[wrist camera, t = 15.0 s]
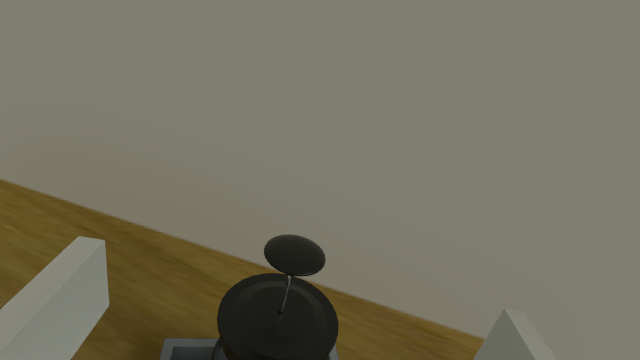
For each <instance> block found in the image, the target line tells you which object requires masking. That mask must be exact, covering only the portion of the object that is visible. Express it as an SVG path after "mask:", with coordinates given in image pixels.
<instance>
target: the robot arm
mask: <svg viewBox="0 0 640 360" xmlns="http://www.w3.org/2000/svg"><path fill="white" fill-rule="evenodd" d="M108 307H109V294H108V279H107V265H106V250H105V240H99V239H94V238H88V237H82V236H78V237H77V238H76V239H75V240H74V241H73V242H72V243H71V244H70V245H69V246H68V247H67V248H65V249H64V250H63V251H62V252H61V253H60V254H59V255H58V256H57V257H56V258H55V259H54V260H53V261H52V262H51V263H49V264H48V265H47V266H46V267H45V268H44V269H43V270H42V271H41V272H40V273H39V274H38V275H37V276H36V277H34V278H33V279H32V280H31V281H30V282H29V283H28V284H27V285H26V286H25V287H24V288H23V289H22V290H21V291H19V292H18V293H17V294H16V295H15V296H14V297H13V298H12V299H11V300H10V301H9V302H8V303H7V304H6V305H5V306H3V307H2V308H1V309H0V360H71V358H72V357H73V356H74V354H75V353H76V351H77V350H78V349H79V347H80V346H81V344H82V343H83V342H84V340H85V339H86V337H87V336H88V335H89V333H90V332H91V330H92V329H93V328H94V326H95V325H96V323H97V322H98V321H99V319H100V318H101V316H102V315H103V314H104V312H105V311H106V309H107V308H108ZM473 360H557V359H556V357H555V356H554V354H553V353H552V351H551V350H550V348H549V347H548V345H547V344H546V342H545V341H544V339H543V338H542V336H541V335H540V333H539V332H538V330H537V329H536V327H535V326H534V324H533V323H532V321H531V320H530V318H529V317H528V315H527V314H526V312H523V311H517V310H511V309H505V308H504V310H503V311H502V313H501V315H500V316H499V318H498V320H497V321H496V323H495V325H494V326H493V328H492V329H491V331H490V333H489V334H488V336H487V338H486V339H485V341H484V343H483V344H482V346H481V348H480V349H479V351H478V352H477V354H476V356H475V357H474V359H473Z"/></svg>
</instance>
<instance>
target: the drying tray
mask: <svg viewBox="0 0 640 360" xmlns="http://www.w3.org/2000/svg"><path fill="white" fill-rule="evenodd" d="M217 340H218V339H198V338H165V340H164V344H163V348H162V352H161V356H160V360H211V359H212V352H213V349H214V347H215V344H216V342H217ZM216 360H228V359H227V358H226V356H225V354H224V351H223V348H222V346H221V348H220V349H219V351H218V353H217V355H216ZM324 360H339V358H338V354H337V350H336V346H335V345H334V347H333V349H332V350H331V352H330V354H329V355H328V356H327V357H326V358H325V359H324Z"/></svg>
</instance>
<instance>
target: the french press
mask: <svg viewBox="0 0 640 360" xmlns="http://www.w3.org/2000/svg"><path fill="white" fill-rule="evenodd" d="M264 255H265V258H266V259H267V261H268V262H269V263H270V265H271V266H273V267H274V268H275V269H277V270H279V271H280V272H283V273H285V274H286V275H285V274H276V273H269V274H260V275H255V276H251V277H249V278H246V279H244V280H242V281H240V282H238V283H237V284H235V285H234V286H233V287H232V288H231V289H229V290H228V292H227V293H226V294H225V296H224V297H223V299H222V301H221V303H220V306H219V310H218V316H217V324H218V331H219V334H220V337H219V339H218V340H217V342H216V344H215V347H214V349H213V352H212V359H211V360H216V355H217V353H218V351H219V349H220V348H221V346H222V348H223V351H224V354H225V356H226V358H227V359H228V360H324V359H325V358H326V357H327V356H328V355H329V354H330V352H331V350H332V349H333V347H334V345H335V342H336V339H337V335H338V320H337V315H336V312H335V310H334V308H333V306H332V304H331V303H330V301H329V300H328V299H327V297H326V296H325V295H324V294H323V293H322V292H321V291H320V290H318V289H317V288H316V287H314V286H313V285H312V284H310V283H308V282H306V281H304V280H302V279H299V278H296V277H294V276H309V275H313V274H315V273H317V272H318V271H320V270H321V269H322V268H323V267H324V264H325V254H324V252H323V250H322V249H321V248H320V247H319V246H318V245H317V244H316V243H314V242H313V241H311V240H309V239H307V238H304V237H301V236H297V235H280V236H276V237H274V238H272V239H271V240H269V241H268V242H267V244H266V245H265V248H264Z"/></svg>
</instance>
